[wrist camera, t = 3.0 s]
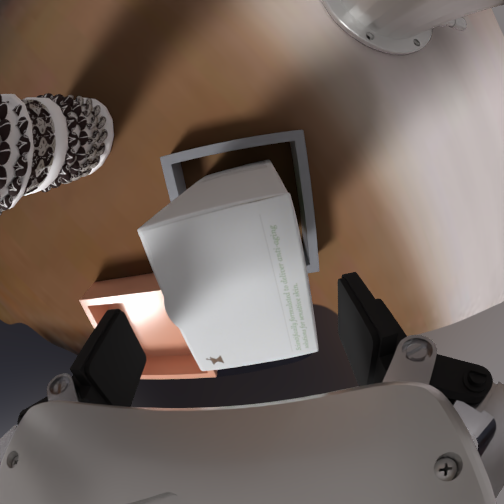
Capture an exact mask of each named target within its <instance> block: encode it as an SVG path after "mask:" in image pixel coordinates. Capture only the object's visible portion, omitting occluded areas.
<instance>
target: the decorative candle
mask: <svg viewBox="0 0 504 504" xmlns="http://www.w3.org/2000/svg"><path fill="white" fill-rule="evenodd" d="M73 100H74V96H73V95H68V96H67V97H64V96H63V95H61V94H58V95H55V96H53V95H52V94H50V93H48V94H45V95H44V96H43V95H39V96H37V97H36V98H33V97H27V98H25V99H24V100H20V99H19V98H18V97H17V96H16V95H15V94H0V215H1V214H2V211H3V210H7V209H10V208H12V207H14V206H15V204H16V203H17V202H18V201H19V199H20V198H21V197H22V196H23V195H25V196H26V195H29V194H32V193H36V192H38V191H42V192H48V191H49V190H50V189H51V187H52V188H57V187H59V186H60V185H61V183H63V184H68V183H70V182H72V181H73V180H78V179H80V178H81V177H84V176H87V175H90V174H92V173H93V172H94V171H96V170H97V169H98V168H99V167H101V166H102V165H103V163H104V161H105V160H106V158H107V156H108V155H109V153H110V151H111V147H112V142H113V138H114V130H113V120H112V118H111V116H110V114H109V112H108V110H107V108H106V106H104V105H103V104H102V103H100V102H99V101H98V100H96V99H91V98H82V97H81V96H77V97H76V100H74V101H73Z"/></svg>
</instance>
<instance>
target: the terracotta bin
mask: <svg viewBox="0 0 504 504" xmlns="http://www.w3.org/2000/svg"><path fill="white" fill-rule="evenodd" d="M79 301H80V303H81V305H82V307H83V309H84V310H85V312H86V314H87V316H88V318H89V320H90V322H91V324H92V325H93V327H94V329H95V328H96V326H97V325H98V323H99V322H100V320H101V319H102V317H103V316H104V314H105V313H106V311H107V310H110V309H120V310H121V311H123V312H124V313H125V315H126V317H127V319H128V321H129V323H130V325H131V327H132V329H133V331H134V333H135V335H136V337H137V339H138V341H139V343H140V345H141V347H142V349H143V351H144V352H145V354H146V359H147V360H146V364H145V367H144V370H143V372H142V375H141V378H140V379H187V378H208V377H217V370H210V371H201V370H200V368H199V366H198V364H197V362H196V360H195V358H194V357H193V355H192V353H191V351H190V349H189V347H188V345H187V343H186V341H185V339H184V337H183V335H182V333H181V331H180V329H179V328H178V327H177V326H176V325H175V324H174V323H173V322H172V321H171V320H170V318H169V316H168V315H167V312H166V310H165V306H164V296H163V294H162V291H161V289H160V287H159V284H158V282H157V280H156V277H155V275H154V273H149V274H143V275H137V276H130V277H124V278H117V279H111V280H104V281H98V282H94V283H93V285H92V286H91V287H90V288H89V289H88V290H87V292H86V293H85V294H84V295H83V296H82V298H81V299H80V300H79Z"/></svg>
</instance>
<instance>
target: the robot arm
mask: <svg viewBox="0 0 504 504" xmlns="http://www.w3.org/2000/svg"><path fill="white" fill-rule="evenodd" d="M322 2H323V4H324V6H325V8H326V10H327V12H328V13H329V14H330V16H331V17H332V19H333V20H334V21H335V22H336V23H337V24H338V25H339V26H340V27H341V28H342V29H343V30H344V31H346V32H347V33H348V34H349V35H350V36H352V37H353V38H355V39H356V40H358V41H359V42H361V43H363V44H365V45H367V46H369V47H371V48H373V49H375V50H378V51H381V52H384V53H389V54H395V55H404V54H410V53H413V52H416V51H418V50H420V49H422V48H423V47H425V46H426V45H427V43H428V42H429V41H430V38H431V36H432V31H433V28H434V27H436V26H445V25H447V26H449V27H452V28H455V29H458V30H461V31H464V30H465V29H466V25H467V24H466V21H465V19H464V18H463V16H466V15H469V14H472V13H476V12H479V11H482V10H486V9H489V8H493V7H497V6H500V5H504V0H322ZM338 333H339V337H340V340H341V342H342V344H343V347H344V349H345V352H346V354H347V357H348V359H349V362H350V364H351V367H352V370H353V372H354V375H355V377H356V380H357V383H358V385H359V386H358V387H354V388H348V389H343V390H339V391H334V392H329V393H324V394H319V395H313V396H308V397H302V398H295V399H290V400H283V401H275V402H268V403H259V404H250V405H240V406H227V407H210V408H141V407H131V404H132V400H133V398H134V395H135V392H136V389H137V386H138V383H139V381H140V378H141V375H142V372H143V370H144V367H145V364H146V360H147V359H146V354H145V352H144V351H143V349H142V347H141V345H140V343H139V341H138V339H137V337H136V335H135V333H134V331H133V329H132V327H131V325H130V323H129V321H128V319H127V317H126V315H125V313H124V312H123V311H121V310H120V309H110V310H107V311H106V313H105V314H104V316H103V317H102V319H101V320H100V322H99V323H98V325H97V326H96V328H95V329H94V331H93V332H92V334H91V335H90V337H89V339H88V340H87V342H86V343H85V345H84V346H83V348H82V350H81V351H80V353H79V355H78V356H77V358H76V360H75V361H74V363H73V365H72V366H71V368H70V370H71V372H72V373H73V376H72V377H71V376H70V375H69V374H60V375H58V376H56V377H55V378H53V379H52V380H51V382H50V383H49V385H48V387H47V397H45V398H44V399H42V400H40V401H39V402H37V403H35V404H33V405H32V406H30V407H28V408H26V409H25V410H23V411H22V412H21V413H20V415H19V418H18V426H16V425H15V426H14V427H12V428H11V430H9V431H8V432H7V433H6V434H5V435H4V436H3V437H2V438H1V439H0V504H497V503H496V499H495V498H496V497H497V496H498V494H499V492H500V491H501V489H502V488H503V486H504V384H502V383H500V382H498V384H495V383H493V379H492V376H491V374H490V372H489V371H488V370H487V369H486V368H485V367H483V366H480V365H477V364H472V363H468V362H465V361H461V360H457V359H453V358H450V357H446V356H442V355H438V354H437V348H436V345H435V343H434V342H433V341H432V340H431V339H429V338H427V337H425V336H422V335H411V336H408V337H407V336H406V334H405V333H404V331H403V330H402V328H401V327H400V325H399V324H398V322H397V321H396V320H395V318H394V317H393V315H392V314H391V312H390V311H389V310H388V308H387V307H386V305H385V304H384V303H383V301H382V300H381V299H375V298H374V297H373V295H372V294H371V292H370V291H369V290H368V288H367V287H366V285H365V284H364V282H363V281H362V280H361V278H360V277H359V276H358V274H357V273H356V272H353V273H348V274H343V275H342V278H341V279H338ZM467 428H468V429H467ZM470 434H472V435H473V436H474V437H475V438H476V440H477V442H478V450H477V448H476V446H475V444H474V441H473V439H472V437H471V435H470ZM436 461H437V462H436Z"/></svg>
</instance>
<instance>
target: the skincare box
mask: <svg viewBox="0 0 504 504" xmlns="http://www.w3.org/2000/svg"><path fill="white" fill-rule="evenodd" d="M137 231H138V234H139V236H140V238H141V241H142V243H143V246H144V249H145V252H146V254H147V257H148V259H149V262H150V265H151V267H152V270H153V272H154V275H155V277H156V280H157V282H158V284H159V287H160V289H161V291H162V294H163V296H164V306H165V310H166V312H167V315H168V316H169V318H170V320H171V321H172V322H173V323H174V324H175V325H176V326H177V327H178V328H179V329H180V331H181V333H182V335H183V337H184V339H185V341H186V343H187V345H188V347H189V349H190V351H191V353H192V355H193V357H194V358H195V360H196V362H197V364H198V366H199V368H200V370H201V371H210V370H218V369H226V368H232V367H239V366H245V365H251V364H257V363H263V362H269V361H275V360H280V359H286V358H291V357H296V356H300V355H305V354H309V353H313V352H317V351H318V341H317V333H316V326H315V318H314V311H313V304H312V298H311V292H310V285H309V279H308V274H307V268H306V262H305V257H304V252H303V247H302V241H301V237H300V232H299V227H298V222H297V218H296V214H295V210H294V206H293V202H292V198H291V195H290V193H288V192H287V190H286V188H285V186H284V184H283V182H282V181H281V179H280V177H279V175H278V173H277V171H276V170H275V168H274V166H273V164H272V163H271V161H270V160H264V161H259V162H255V163H250V164H246V165H242V166H239V167H235V168H231V169H227V170H224V171H220V172H217V173H213V174H210V175H206V176H204V177H203V178H202V179H200V180H199V181H197V182H196V183H195V184H193V185H192V186H191V187H190V188H188V189H187V190H186V191H184V192H183V193H182V194H181V195H179V196H178V197H177V198H175V199H174V200H173V201H172V202H171V203H169V204H168V205H167V206H166V207H164V208H163V209H162V210H161V211H159V212H158V213H157V214H156V215H154V216H153V217H152V218H151V219H150V220H148V221H147V222H146V223H145V224H144V225H142V226H141V227H140V228H139V229H138V230H137Z"/></svg>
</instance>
